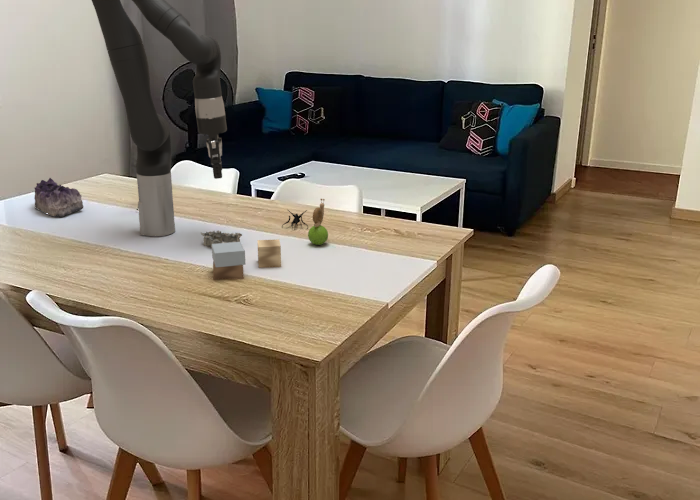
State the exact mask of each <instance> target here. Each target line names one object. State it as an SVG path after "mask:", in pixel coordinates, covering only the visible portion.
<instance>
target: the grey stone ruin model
mask: <svg viewBox="0 0 700 500" xmlns="http://www.w3.org/2000/svg"><path fill="white" fill-rule="evenodd" d="M200 234H201V236H202V237H203V238H202V239H203V246H205V247H208V246H209V247H211V248H210V249H212V244H219V243H231V242H241V239H240V238H241V237H242V236H243V233H241V232H235V233H234V232H232V233H229V232H222V231H220V230H217V231H215V230H212V231H208V232H207V231H206V232H200Z"/></svg>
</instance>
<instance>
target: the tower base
mask: <svg viewBox="0 0 700 500" xmlns="http://www.w3.org/2000/svg"><path fill="white" fill-rule="evenodd" d="M212 272H213V273H212V274H213V275H212V276H213V280H214V281H216V280H235V279H236V280H237V279H240V280H241V279H244V265H236V266H225V267H215V264H214V261H213V262H212Z"/></svg>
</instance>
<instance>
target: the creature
mask: <svg viewBox="0 0 700 500" xmlns="http://www.w3.org/2000/svg"><path fill="white" fill-rule="evenodd" d="M287 211H288V212H289V213H290V214H291V215H292V217H293V220H292V221H291V215H288V220H287V221H286V222H284V223H283V224H282V226H281V227H284V225H287V224H288V223H290V221H291V224H290V227H291V229H293V226H294V231H295V230H296V227H297V225H298V223H300V229H302V230H304V228H303V226H302V224H303V225H305V226H307V228H306V229H305V230H308V229H309V225H308V224H307V223H305V222H304V221H303V217H302V216H303V215H304V214H305V213H306V212H307V211H308V210H305V211H303V212H302V213H301V214H300V215H298V213H292V211H290V210H289V209H287ZM286 229H288V227H286V228H285V230H286Z"/></svg>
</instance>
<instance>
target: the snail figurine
mask: <svg viewBox="0 0 700 500" xmlns="http://www.w3.org/2000/svg"><path fill="white" fill-rule="evenodd" d="M322 201H323V202H322ZM320 202H321V203H320V204H319V207H316V208H314V209H313V212H312V221H313V226H311V227H310V228H309V230H308V233H307V238H308V240H309V242H310V243H311V244H312V245H316V246H321V245H324V244H325V243H326V242H327V241H328V238H329V232H328V229H327V228H326V227H325V226H323V225H321V224H322V223H323V220H324V213H325V203H324V202H325V198H320Z"/></svg>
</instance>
